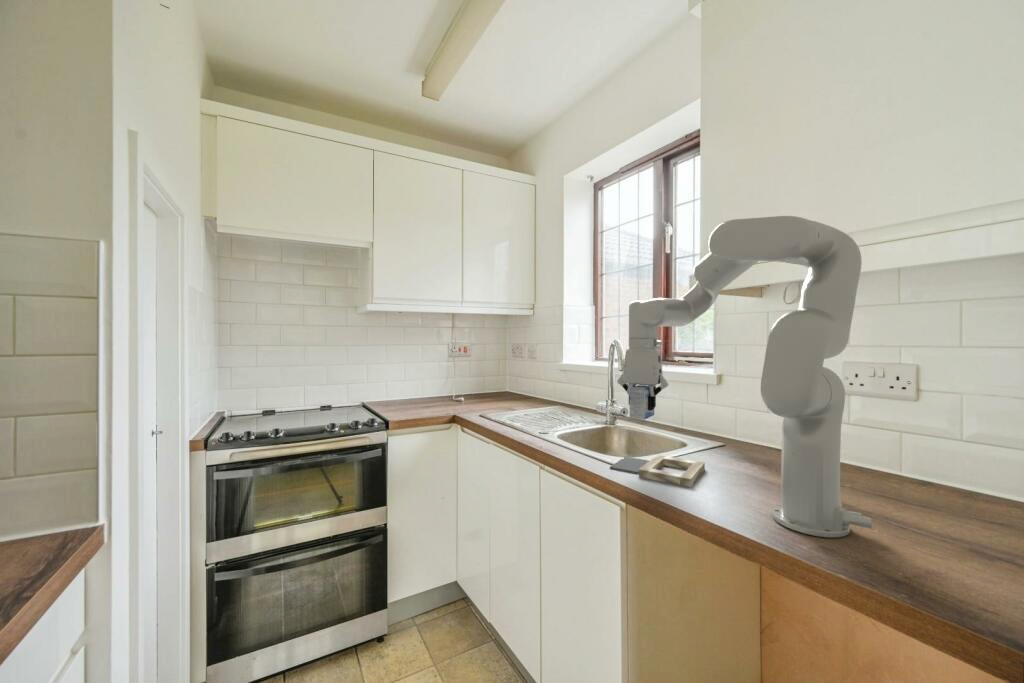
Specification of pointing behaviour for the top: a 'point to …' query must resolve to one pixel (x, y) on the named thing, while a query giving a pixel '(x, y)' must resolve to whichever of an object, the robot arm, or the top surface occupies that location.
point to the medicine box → (640, 402)
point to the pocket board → (686, 479)
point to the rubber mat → (629, 464)
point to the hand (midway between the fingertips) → (641, 408)
